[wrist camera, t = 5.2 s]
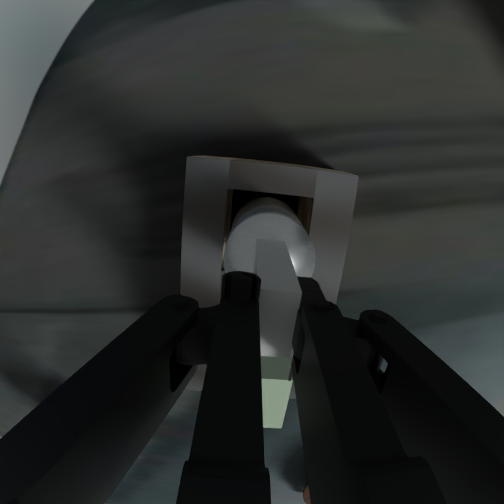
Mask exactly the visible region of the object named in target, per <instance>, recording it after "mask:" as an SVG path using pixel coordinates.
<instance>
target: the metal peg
mask: <svg viewBox="0 0 504 504" xmlns="http://www.w3.org/2000/svg"><path fill="white" fill-rule="evenodd" d="M256 238H264V239H274V240H284V241H285V243H286V246H287V249H288V251H289V254H290V257H291V260H292V263H293V266H294V270H295V273H296V276H299V277H312V274H313V272H314V268H315V261H316V257H315V249H314V246H313V243H312V241H311V239H310V237H309V235H308V234H307V232H306V231H305V229H304V227H303V226H302V224H301V222H300V221H299V219H298V218H297V216H296V214H295V213H294V211H293V210H292V209H291V208H290V207H289V206H288V205H287V204H286V203H284V202H283V201H281V200H279V199H275V198H271V197H261V198H256V199H254V200H251V201H249V202H248V203H246V204H245V205H244V206H242V207H241V209H240V210H239V211H238V213H237V214H236V216H235V218H234V221H233V225H232V228H231V231H230V234H229V237H228V241H227V244H226V247H225V251H224V260H223V263H224V269H225V273H227V272H232V271H244V272H250V273H253V265H254V256H255V246H256Z"/></svg>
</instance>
